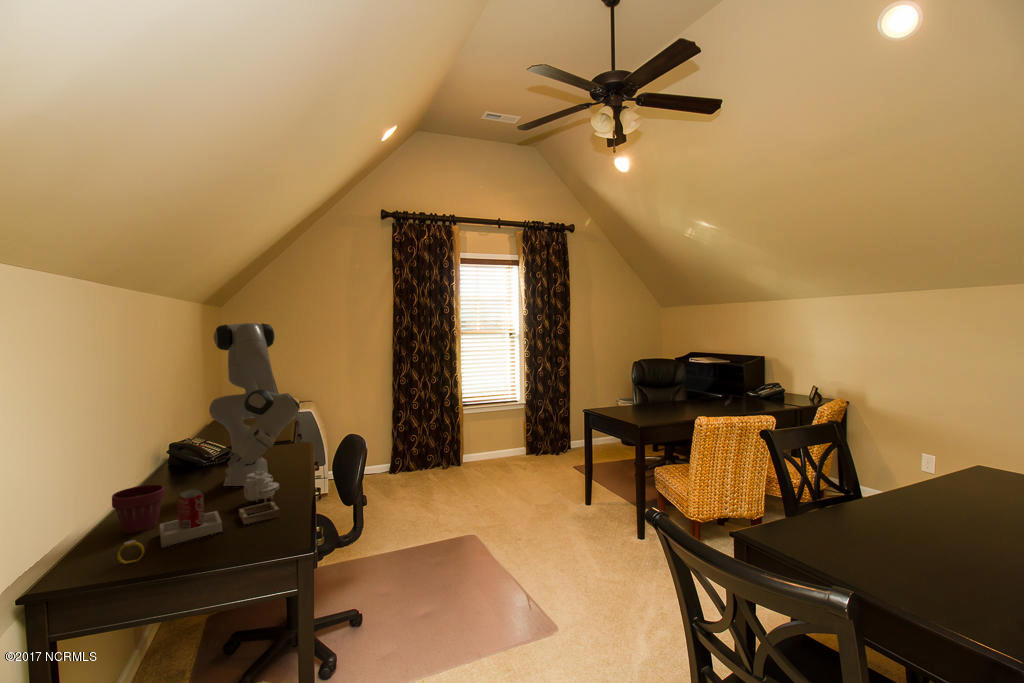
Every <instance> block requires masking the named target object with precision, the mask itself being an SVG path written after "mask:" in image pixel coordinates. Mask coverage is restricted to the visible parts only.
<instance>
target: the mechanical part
mask: <svg viewBox="0 0 1024 683" xmlns="http://www.w3.org/2000/svg"><path fill="white" fill-rule="evenodd" d="M268 474H269V472H268V473H266V472H265V471H261V472H260V473H259V471H255V473H251V474H249V475H247V480H246V483H244V487H243V494H244V495H243V496H244V498H245V499H246V500H247V501H251V502H253V501H255V503H256V502H259V500H262V499H263V500H264V503H267V499H268V498H270V499H271V500H273V499H274V498H273V496H274V495H275V492H276V491H278V490H279V489H280V483H279V482H275V481H274V478H273V477H272V478H271V477H270V478H268V477H267V476H268ZM266 477H267V478H266ZM254 479H255V481H254ZM258 499H259V500H258Z"/></svg>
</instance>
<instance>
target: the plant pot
mask: <svg viewBox="0 0 1024 683" xmlns="http://www.w3.org/2000/svg"><path fill="white" fill-rule="evenodd" d="M165 490H166V489H165V486H164V485H162V484H157V483H156V484H154V483H153V484H144V485H139V486H133V487H129V488H125V489H121V490H118V491H117V492H115V493H112V495H111V507H112V508H113V509H115V511H116V514H117V517H118V520H119V523H120V526H121V528H122V533H124V534H136V533H137V534H138V533H142V532H145V531H148V530H151V529H153V528H154V527H156V526H157V525H158V522H159V517H160V512H161V507H162V500H163V499H165V497H166V492H165Z"/></svg>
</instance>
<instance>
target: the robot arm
mask: <svg viewBox="0 0 1024 683" xmlns="http://www.w3.org/2000/svg"><path fill="white" fill-rule="evenodd" d="M275 337H276V333H275V331H274V329H273V326H271V325H270V324H268V323H254V322H252V323H250V322H249V323H248V322H246V323H245V322H244V323H236V324H235V323H234V324H222V325H218V327H216V328H215V331H214V334H213V340H214V341H213V342H214V344H215V346H216V347H217V348H218V349H219V350H222V351H228V354H227V355H228V356H227V363H228V364H227V366H228V367H227V368H228V370H227V373H228V380H229V383H230V384H232V385H234V386H236V387H239V388H242V389H244V392H245V393H241V394H239V393H238V394H230V395H224V396H220V397H217V398H213V400H212V401H211V403H210V405H209V408H208V409H209V410H208V411H209V414H210V416H211V418H212V419H213V420H214V421H216V422H218V423H219V424H221V425H222V426H224V428H225V429H226V430H227V431H228V433H229V436H230V441H231V453H230V460H229V461H228V462H227V465H228V466H227V467H228V468H225V475H226V477H225V479H224V482H223V486H244V483H246V480H247V475H249V474H251V473H255V471H259V473H260V472H261V471H265V472H266V473H268V476H267V477H268V478H270V477H272V478H273V475H272V474H270V473H269V472H268V464H267V463H268V462H267V460H266V459H265V458H263V456H264V455H263V454H264V453H266V451H267V450H268V448H270V449H271V448H272V447H273V446H274V445H275V441H276V439H277V438H278V437H279V435H280V434H281V432H282V430H283V429H285V428H287V426H288V425H290V423H291V422H292V421H293V420H294V418H295V417H296V416H297V415H298V412H299V410H300V408H301V406H300V404H299V403H298V401H297V400H296V399H295V398H293V396H292V394H291V395H290V393H286V392H285V393H279V391H278V387H277V384H276V381H275V377H274V373H273V368H272V364H271V359H270V354H269V350H268V349H269V348H270V347H271V346H272V345H274V341H275V339H276V338H275ZM254 418H255V419H256V420H257V421H256V422H254V424H252V426H251V425H248V424H245V422H244V420H246V419H254ZM267 477H266V478H267ZM254 481H255V479H254Z"/></svg>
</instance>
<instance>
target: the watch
mask: <svg viewBox="0 0 1024 683" xmlns="http://www.w3.org/2000/svg"><path fill="white" fill-rule="evenodd" d="M131 546H138V547H139V549H141V553H140V554H141V555H140V556H138V558H137V559H131V560H125V559H124V558H122V556H121V552H122V549H124V548H125V547H131ZM144 554H145V546H144V545H143V544H142V543H141V542H140V541H139V542H138V541H137V540H136V539H133V540H132V539H131V540H128V541H125V542H124V543H123V545H121V547H120V548H119V550H118V551H117V553H116V558H117V560H118V562H119V563H121V564H123V565H128V564H132V563H137V562H139V561H140V560H141V559H142V558H143V556H144Z"/></svg>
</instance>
